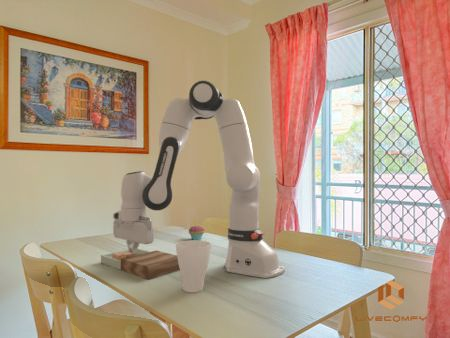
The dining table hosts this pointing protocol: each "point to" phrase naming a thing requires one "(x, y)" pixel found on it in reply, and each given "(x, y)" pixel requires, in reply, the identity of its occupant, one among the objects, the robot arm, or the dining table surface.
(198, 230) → the cupcake
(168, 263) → the board
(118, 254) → the tile
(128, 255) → the tile
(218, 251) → the dining table surface
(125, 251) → the tray
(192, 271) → the cup
